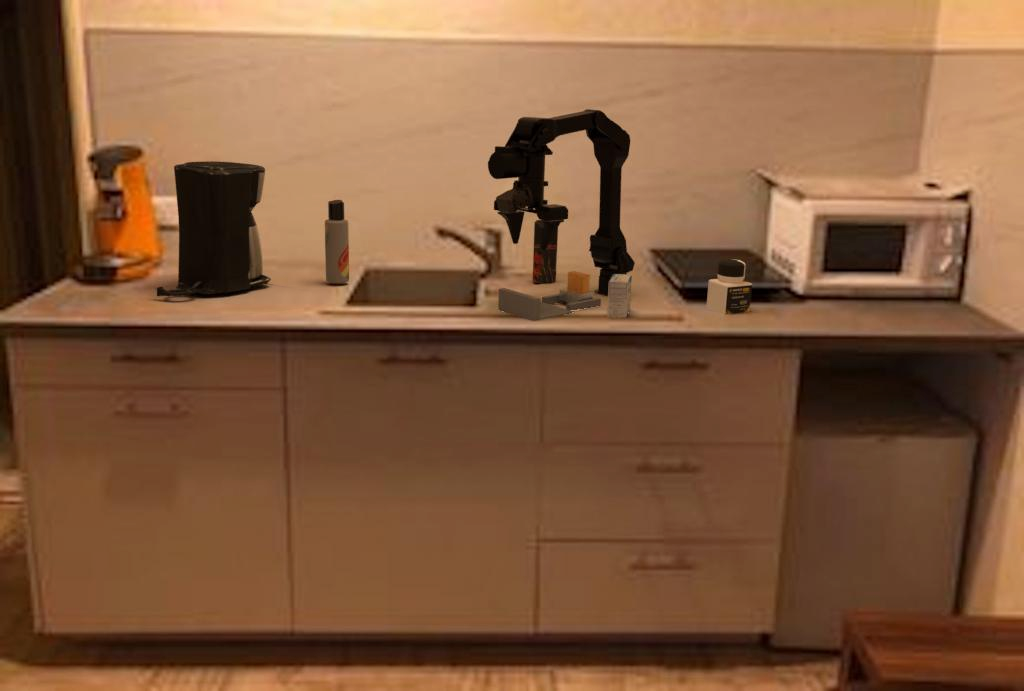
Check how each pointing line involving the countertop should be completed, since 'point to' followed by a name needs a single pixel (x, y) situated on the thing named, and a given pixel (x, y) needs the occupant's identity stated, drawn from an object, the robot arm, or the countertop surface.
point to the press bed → (538, 305)
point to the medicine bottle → (729, 289)
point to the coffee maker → (218, 228)
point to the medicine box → (619, 295)
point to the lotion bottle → (336, 244)
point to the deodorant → (544, 258)
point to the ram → (576, 288)
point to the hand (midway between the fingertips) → (529, 246)
